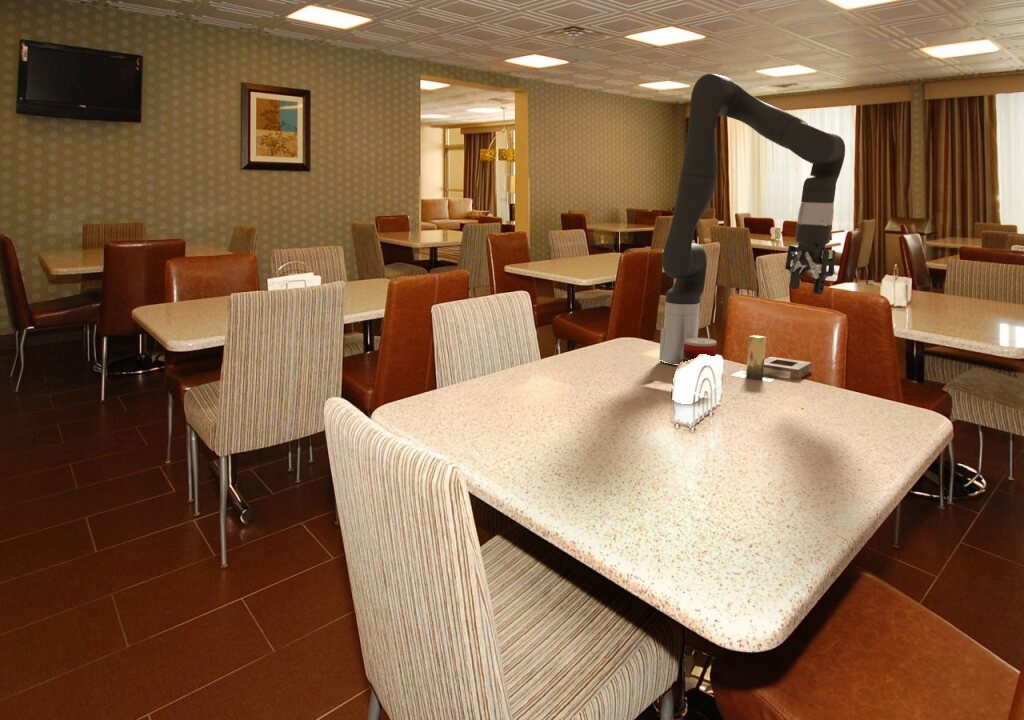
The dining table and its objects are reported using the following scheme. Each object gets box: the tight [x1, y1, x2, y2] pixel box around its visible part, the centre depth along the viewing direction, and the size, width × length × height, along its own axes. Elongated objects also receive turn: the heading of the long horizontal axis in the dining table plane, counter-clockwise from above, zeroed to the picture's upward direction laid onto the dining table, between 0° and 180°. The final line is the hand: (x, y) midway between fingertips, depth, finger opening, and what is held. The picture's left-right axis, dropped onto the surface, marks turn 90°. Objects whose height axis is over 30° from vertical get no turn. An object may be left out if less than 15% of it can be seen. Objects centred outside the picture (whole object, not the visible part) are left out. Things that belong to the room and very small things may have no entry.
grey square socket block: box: [763, 356, 812, 381], centre depth 173 cm, size 10×11×4 cm
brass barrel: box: [746, 335, 767, 378], centre depth 168 cm, size 4×4×10 cm
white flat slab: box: [729, 370, 780, 383], centre depth 169 cm, size 10×7×2 cm
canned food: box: [683, 337, 718, 362], centre depth 166 cm, size 8×8×11 cm
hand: (805, 291), depth 161 cm, fingers open, 8 cm apart
